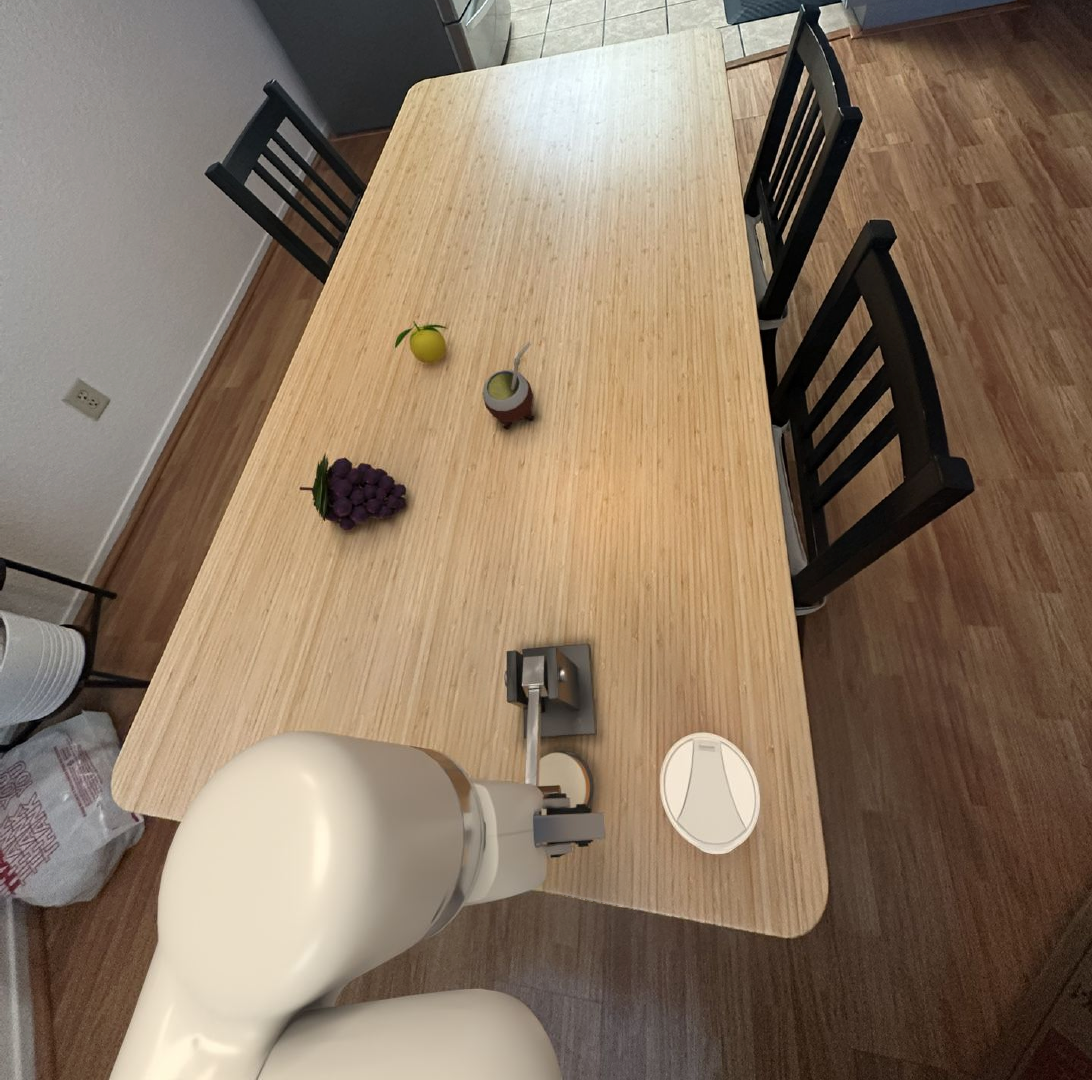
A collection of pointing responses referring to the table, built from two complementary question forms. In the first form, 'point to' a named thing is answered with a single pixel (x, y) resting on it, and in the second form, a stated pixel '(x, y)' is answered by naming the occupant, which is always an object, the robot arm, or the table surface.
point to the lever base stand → (558, 690)
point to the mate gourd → (509, 395)
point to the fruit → (354, 493)
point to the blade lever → (535, 718)
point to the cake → (567, 776)
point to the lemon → (425, 342)
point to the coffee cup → (709, 792)
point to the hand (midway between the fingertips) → (494, 824)
